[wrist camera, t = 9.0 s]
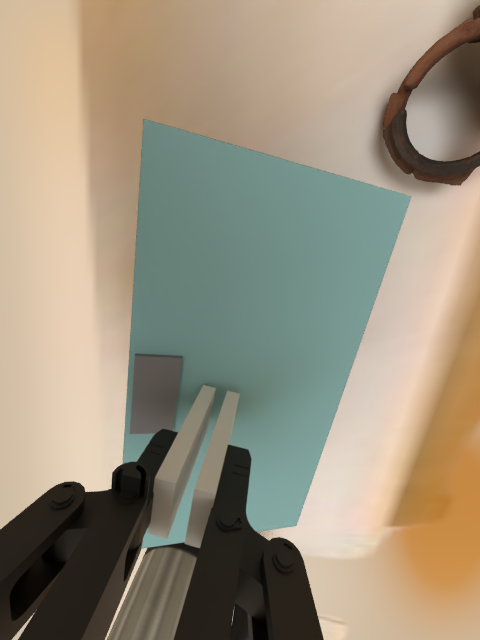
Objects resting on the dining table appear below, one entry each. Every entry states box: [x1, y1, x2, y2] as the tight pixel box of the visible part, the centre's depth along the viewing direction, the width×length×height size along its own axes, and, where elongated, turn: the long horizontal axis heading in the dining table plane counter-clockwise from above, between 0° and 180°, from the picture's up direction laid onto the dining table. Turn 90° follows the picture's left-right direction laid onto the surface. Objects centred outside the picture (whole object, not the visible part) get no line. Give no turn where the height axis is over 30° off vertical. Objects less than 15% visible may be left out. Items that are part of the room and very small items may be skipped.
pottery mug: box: [383, 6, 480, 185], centre depth 17 cm, size 12×9×8 cm
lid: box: [123, 119, 411, 549], centre depth 17 cm, size 26×14×2 cm, turn 170°
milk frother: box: [107, 542, 249, 640], centre depth 28 cm, size 14×16×15 cm
